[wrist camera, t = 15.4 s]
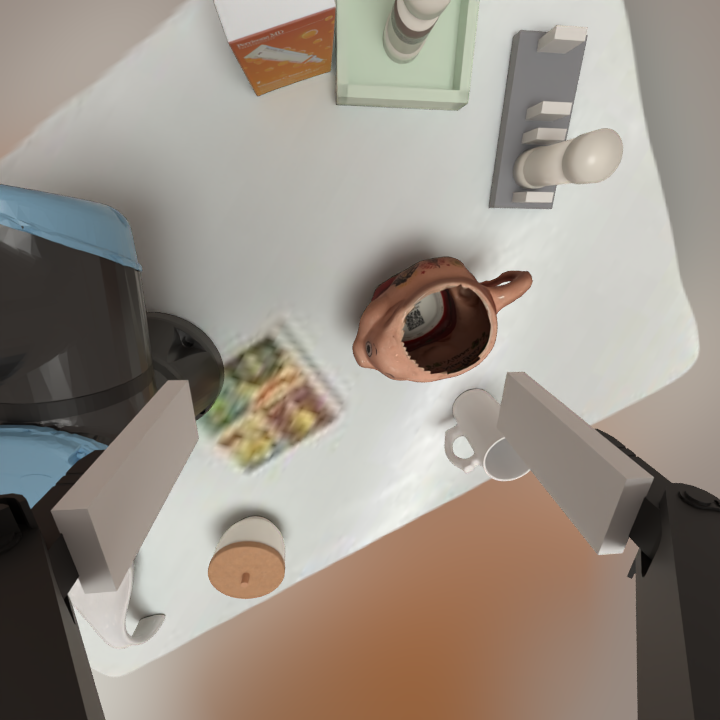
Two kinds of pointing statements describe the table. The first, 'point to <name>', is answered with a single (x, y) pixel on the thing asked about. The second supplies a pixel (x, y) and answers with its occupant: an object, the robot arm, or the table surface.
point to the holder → (546, 123)
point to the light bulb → (410, 27)
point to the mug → (483, 437)
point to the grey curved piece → (114, 614)
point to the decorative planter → (433, 320)
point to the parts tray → (404, 81)
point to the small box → (279, 39)
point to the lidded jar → (248, 559)
